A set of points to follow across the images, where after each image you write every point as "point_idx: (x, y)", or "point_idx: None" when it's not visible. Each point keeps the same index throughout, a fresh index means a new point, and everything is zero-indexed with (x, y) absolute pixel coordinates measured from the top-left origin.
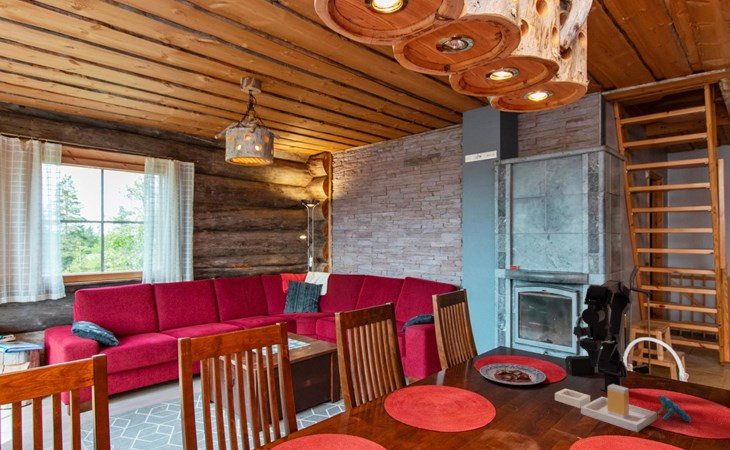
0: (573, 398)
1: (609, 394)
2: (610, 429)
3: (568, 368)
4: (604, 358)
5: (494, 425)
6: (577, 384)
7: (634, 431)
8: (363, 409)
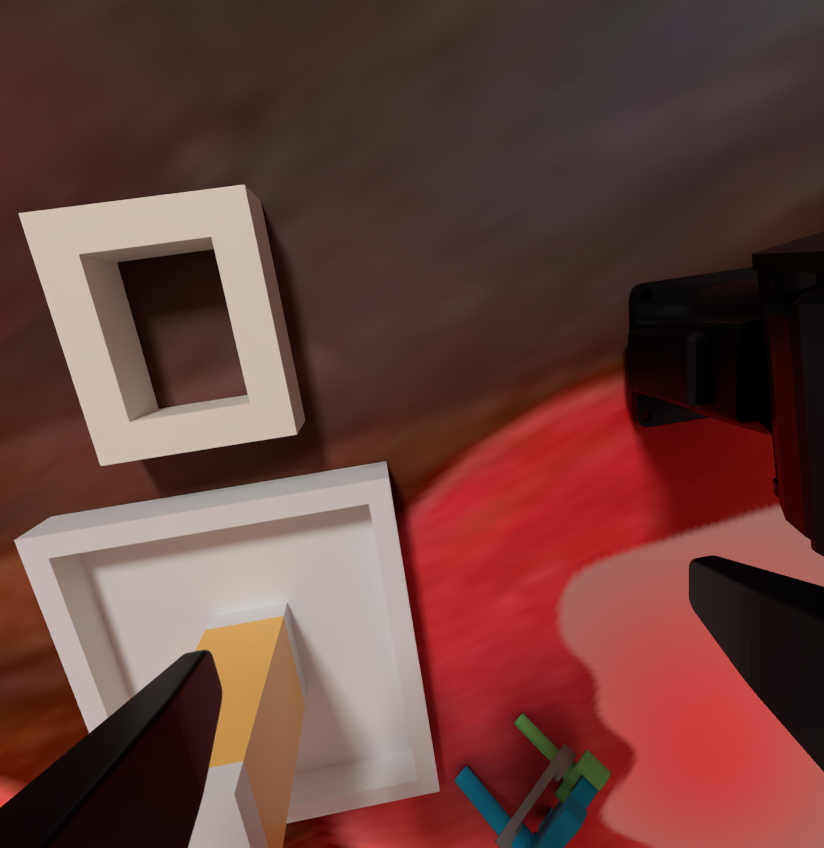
0: (90, 404)
1: None
2: (39, 734)
3: None
4: (740, 596)
5: None
6: (611, 72)
7: None
8: None
